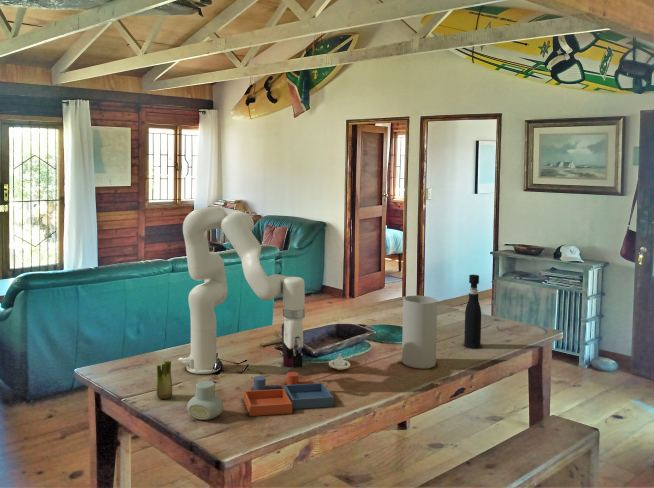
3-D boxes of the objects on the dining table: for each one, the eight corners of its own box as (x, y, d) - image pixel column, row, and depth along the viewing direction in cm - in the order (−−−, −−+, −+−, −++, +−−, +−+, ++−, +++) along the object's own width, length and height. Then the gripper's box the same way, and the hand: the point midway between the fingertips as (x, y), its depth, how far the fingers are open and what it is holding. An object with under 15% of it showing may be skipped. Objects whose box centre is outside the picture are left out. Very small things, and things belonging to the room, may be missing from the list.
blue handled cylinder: (254, 392, 202) (254, 380, 201) (252, 387, 206) (252, 376, 205) (282, 390, 203) (282, 378, 203) (279, 386, 207) (279, 374, 207)
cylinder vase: (395, 363, 231) (397, 299, 229) (411, 356, 240) (413, 293, 238) (426, 371, 222) (427, 305, 221) (441, 363, 231) (442, 299, 230)
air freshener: (182, 418, 181) (183, 385, 180) (195, 408, 189) (195, 376, 188) (215, 424, 177) (216, 391, 176) (227, 413, 185) (227, 381, 184)
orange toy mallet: (288, 387, 206) (288, 376, 205) (285, 383, 210) (285, 372, 209) (314, 386, 207) (315, 374, 207) (311, 382, 211) (312, 370, 211)
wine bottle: (463, 347, 251) (465, 276, 250) (464, 343, 257) (466, 273, 256) (480, 349, 249) (482, 277, 248) (480, 344, 255) (482, 274, 253)
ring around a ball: (348, 365, 228) (327, 364, 229) (349, 350, 228) (327, 350, 228) (351, 373, 220) (329, 372, 221) (351, 358, 220) (329, 357, 220)
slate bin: (292, 409, 188) (292, 399, 188) (284, 393, 200) (284, 385, 200) (333, 406, 191) (333, 397, 191) (322, 391, 203) (322, 382, 203)
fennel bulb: (157, 401, 193) (157, 365, 192) (153, 396, 198) (153, 360, 197) (174, 399, 195) (174, 362, 195) (170, 393, 200) (170, 358, 199)
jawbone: (293, 337, 265) (293, 332, 265) (279, 351, 246) (280, 346, 246) (273, 333, 268) (274, 328, 268) (258, 347, 249) (259, 342, 249)
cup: (297, 367, 225) (298, 328, 225) (279, 366, 227) (280, 327, 226) (300, 361, 232) (300, 323, 231) (282, 360, 233) (283, 322, 233)
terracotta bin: (249, 416, 183) (250, 406, 183) (243, 400, 195) (243, 391, 195) (292, 413, 185) (292, 403, 185) (283, 397, 197) (283, 388, 197)
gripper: (277, 308, 215) (278, 355, 215) (288, 320, 197) (289, 372, 198) (298, 307, 216) (298, 354, 217) (311, 319, 199) (311, 370, 200)
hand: (294, 362), depth 207 cm, fingers open, 9 cm apart
